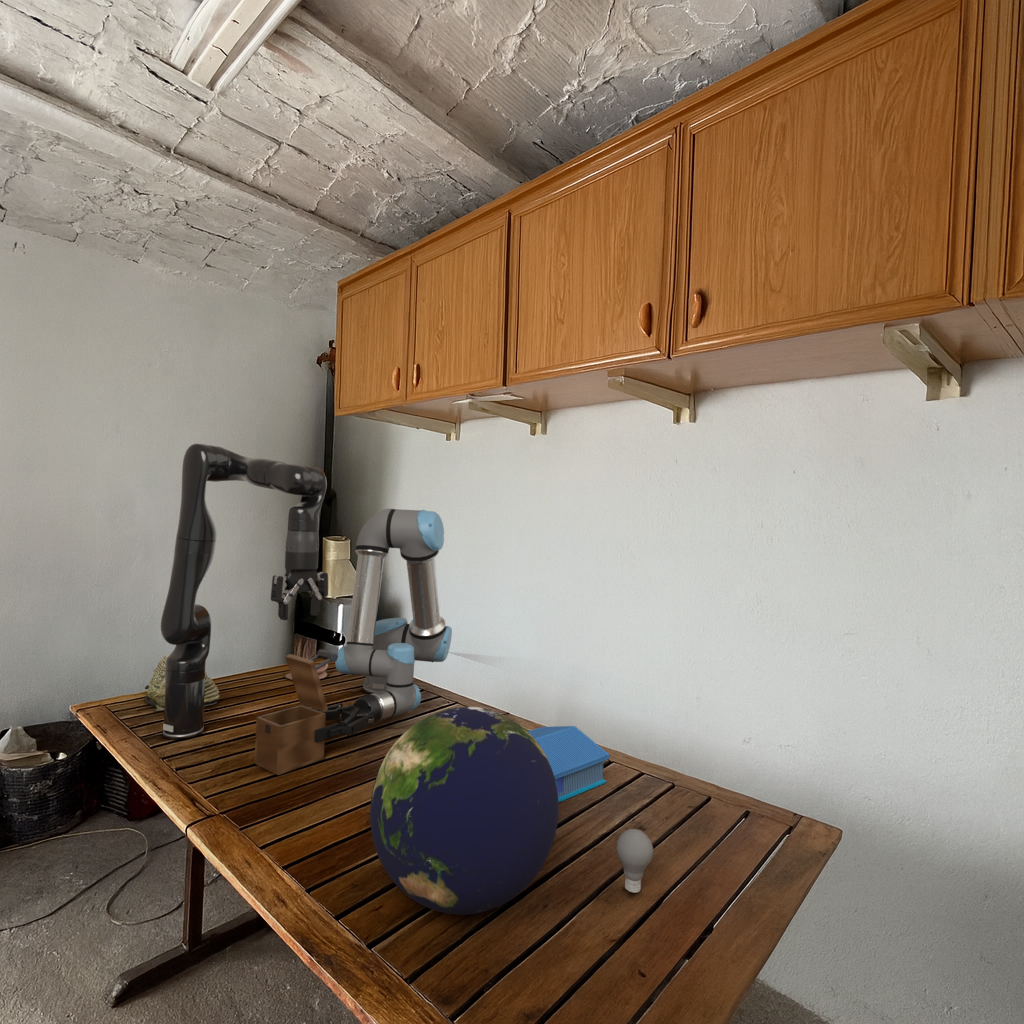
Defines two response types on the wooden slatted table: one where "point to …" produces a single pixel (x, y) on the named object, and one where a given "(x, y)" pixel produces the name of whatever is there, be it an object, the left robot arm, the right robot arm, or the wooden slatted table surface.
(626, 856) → the light bulb
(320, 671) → the anatomical model
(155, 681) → the fossil
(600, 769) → the model building
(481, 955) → the wooden slatted table surface
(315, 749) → the chest
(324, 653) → the lid
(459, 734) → the globe
